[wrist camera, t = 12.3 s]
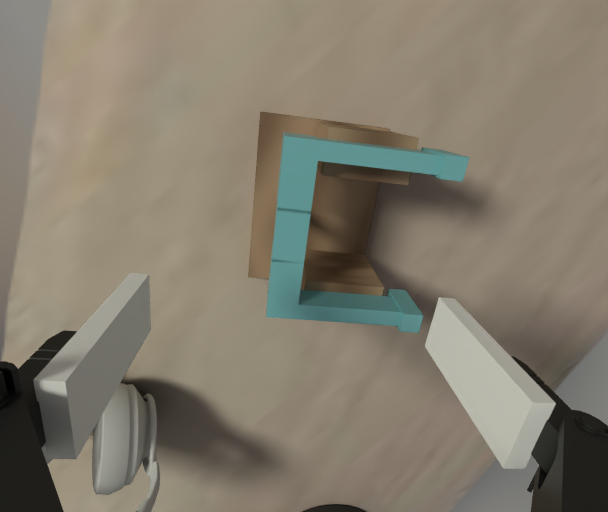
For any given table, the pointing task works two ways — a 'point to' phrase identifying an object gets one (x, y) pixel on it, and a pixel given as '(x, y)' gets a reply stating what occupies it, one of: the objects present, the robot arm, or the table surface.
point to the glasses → (295, 224)
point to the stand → (324, 204)
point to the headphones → (125, 444)
